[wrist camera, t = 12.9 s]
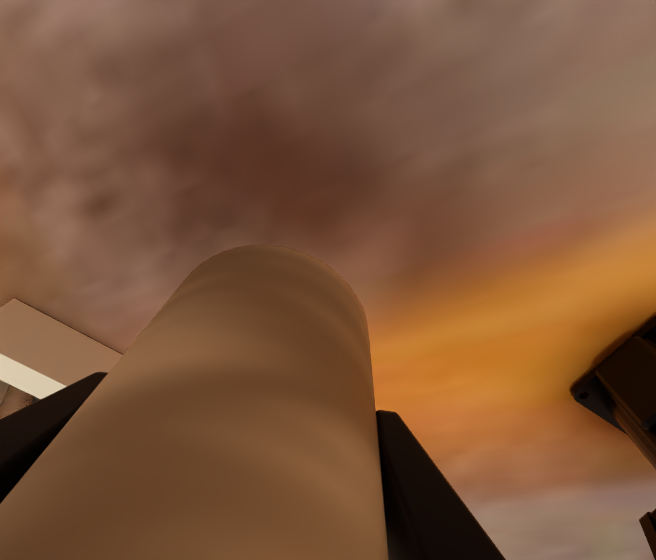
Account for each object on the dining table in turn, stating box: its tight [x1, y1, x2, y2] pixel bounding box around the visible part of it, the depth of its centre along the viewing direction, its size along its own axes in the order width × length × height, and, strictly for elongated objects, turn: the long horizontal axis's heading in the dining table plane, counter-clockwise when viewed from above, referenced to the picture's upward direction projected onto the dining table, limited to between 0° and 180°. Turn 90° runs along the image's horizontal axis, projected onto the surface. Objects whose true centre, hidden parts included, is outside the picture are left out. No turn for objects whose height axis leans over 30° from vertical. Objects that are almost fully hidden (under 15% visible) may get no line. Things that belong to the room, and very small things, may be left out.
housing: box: [0, 298, 123, 405], centre depth 25 cm, size 23×11×4 cm, turn 56°
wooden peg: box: [0, 245, 389, 560], centre depth 7 cm, size 5×5×9 cm
